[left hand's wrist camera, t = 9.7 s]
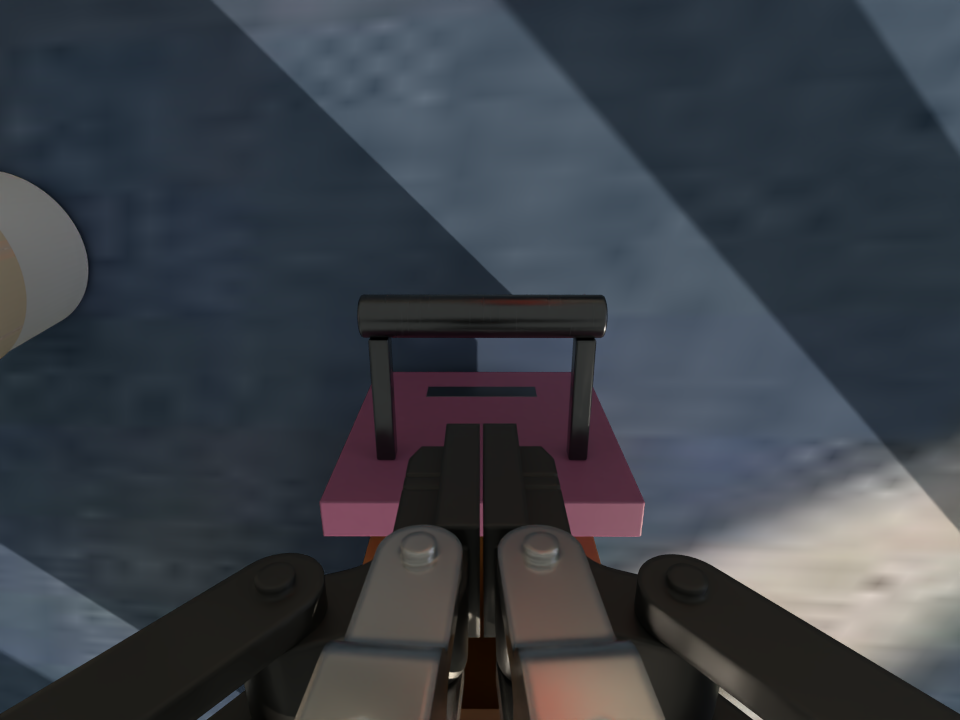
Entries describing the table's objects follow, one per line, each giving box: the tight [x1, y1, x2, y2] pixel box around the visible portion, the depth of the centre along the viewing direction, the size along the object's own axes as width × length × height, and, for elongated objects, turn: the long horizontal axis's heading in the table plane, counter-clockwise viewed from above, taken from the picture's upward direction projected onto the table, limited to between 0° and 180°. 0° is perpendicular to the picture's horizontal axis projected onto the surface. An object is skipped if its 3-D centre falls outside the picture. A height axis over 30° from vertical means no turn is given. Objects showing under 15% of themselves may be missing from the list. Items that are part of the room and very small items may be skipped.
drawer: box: [319, 295, 645, 709], centre depth 24 cm, size 25×9×10 cm, turn 0°
